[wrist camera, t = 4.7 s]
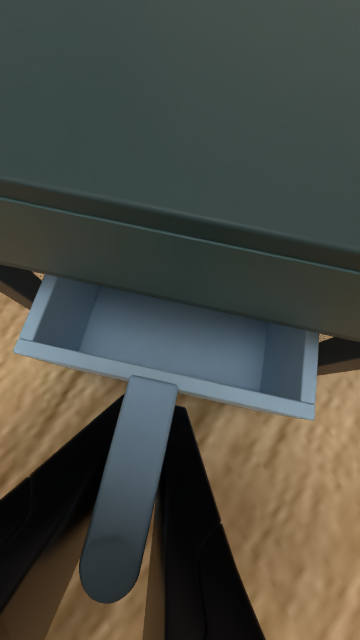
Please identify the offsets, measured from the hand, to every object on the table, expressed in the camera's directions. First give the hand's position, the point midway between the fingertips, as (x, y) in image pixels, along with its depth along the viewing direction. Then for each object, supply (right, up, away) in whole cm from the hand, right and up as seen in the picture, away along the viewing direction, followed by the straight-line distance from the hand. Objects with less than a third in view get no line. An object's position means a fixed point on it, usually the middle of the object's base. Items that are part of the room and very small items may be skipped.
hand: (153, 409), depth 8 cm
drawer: (+1, +2, +8) cm, 8 cm away
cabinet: (+1, +5, +9) cm, 11 cm away
